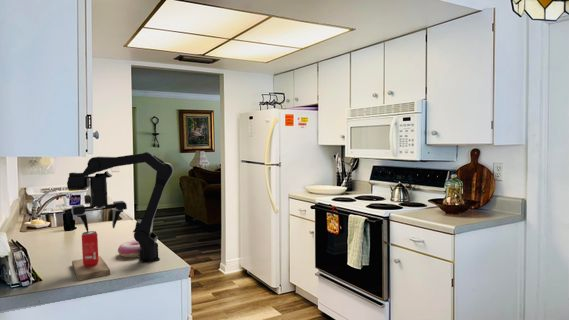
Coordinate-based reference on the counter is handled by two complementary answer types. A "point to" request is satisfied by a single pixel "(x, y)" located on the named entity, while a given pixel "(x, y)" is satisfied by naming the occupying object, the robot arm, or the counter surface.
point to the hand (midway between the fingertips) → (100, 229)
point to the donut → (129, 249)
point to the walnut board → (90, 269)
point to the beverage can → (90, 248)
